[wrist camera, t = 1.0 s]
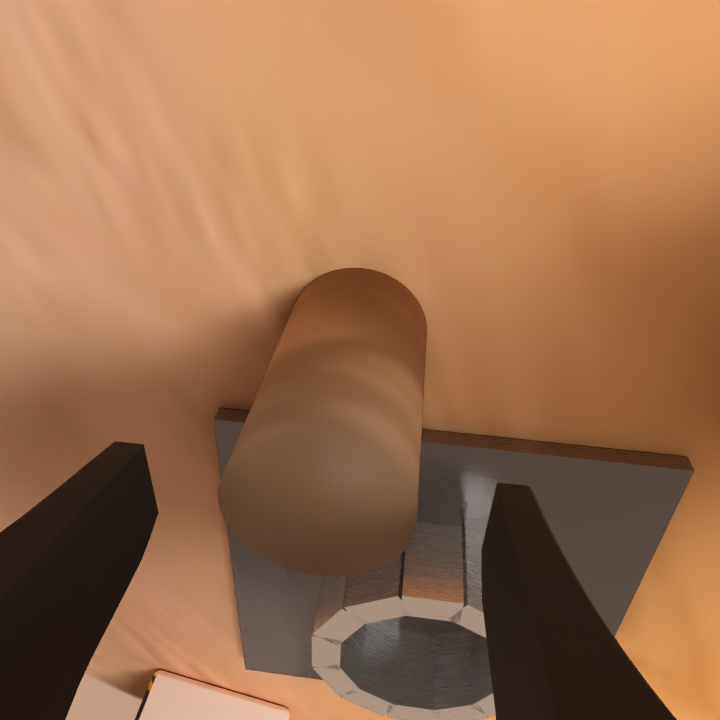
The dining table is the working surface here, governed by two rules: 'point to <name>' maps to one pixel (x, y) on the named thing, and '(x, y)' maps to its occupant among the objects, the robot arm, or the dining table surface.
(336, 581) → the socket
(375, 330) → the peg
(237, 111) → the dining table surface
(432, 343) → the dining table surface
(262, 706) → the medicine bottle
